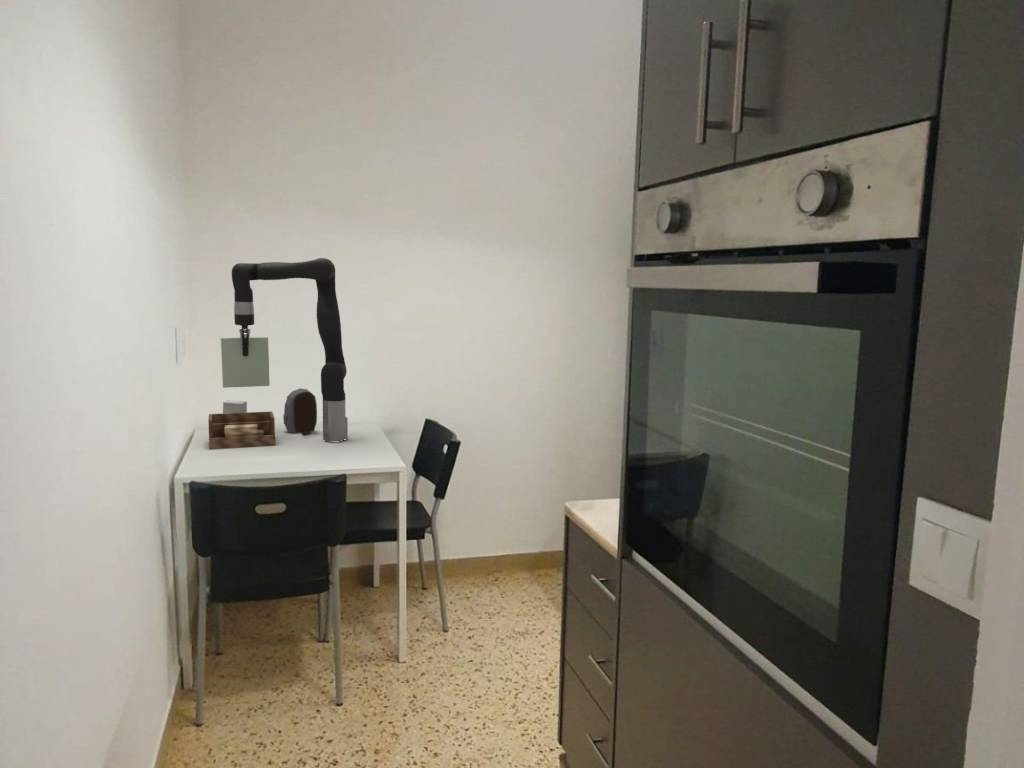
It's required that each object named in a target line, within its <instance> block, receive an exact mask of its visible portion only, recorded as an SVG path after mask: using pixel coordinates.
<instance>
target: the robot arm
mask: <svg viewBox="0 0 1024 768" xmlns="http://www.w3.org/2000/svg"><path fill="white" fill-rule="evenodd" d="M289 279H307V280H308V279H310V280H315V285H316V289H317V290H316V291H317V300H316V301H317V302H316V321H317V322H316V323H317V331H318V334H319V337H320V340H321V344H322V345H323V350H324V357H325V359H324V360H325V361H324V363H325V364H324V365H323V366H322V367H321V370H320V390H321V391H320V392H321V395H322V441H323V440H325V441H324V442H326V441H341V440H344V439H348V432H349V431H348V429H349V428H348V421H349V419H348V417H347V416H346V413H347V412H346V392H345V387H344V385H345V384H344V381H345V380H344V379H345V377H346V376H347V365H346V361H345V356H344V352H343V338H342V324H341V323H342V322H341V315H340V309H339V303H338V298H337V292H336V267H335V264H334V263H333V262H332V260H330V259H328V258H324V257H320V258H319V257H318V258H316V259H312V260H307V261H300V262H298V261H297V262H280V261H278V262H277V261H276V262H275V261H273V262H272V261H271V262H260V263H258V262H257V263H251V262H250V263H248V262H247V263H245V262H244V263H243V262H242V263H241V262H239V263H236V264H234V265H233V267H232V268H231V281H232V286H233V290H234V304H233V306H234V308H233V313H234V317H233V318H234V325H236V326H241V329H239V338H241V341H242V349H243V356H248V347H249V340H250V338H251V337H250V334H251V329H250V328H249V326H253V325H255V306H254V295H253V294H254V292H253V289H252V288H251V281H258V280H259V281H260V280H262V281H277V280H278V281H279V280H280V281H281V280H289ZM244 341H247V343H243V342H244ZM341 442H342V441H341Z"/></svg>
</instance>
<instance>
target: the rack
mask: <svg viewBox="0 0 1024 768" xmlns="http://www.w3.org/2000/svg"><path fill="white" fill-rule="evenodd" d="M207 420H208V421H207V422H208V445H209V447H208V448H209V450H221V449H222V450H223V449H225V450H226V449H239V448H242V449H243V448H256V447H257V448H258V447H273V446H275V447H276V428H275V427H276V426H275V425H276V424H275V416H274V412H273V411H270V410H269V411H252V412H251V411H250V412H248V411H247V412H246V413H223V412H221V413H208V419H207ZM248 424H257V429H258V430H263V432H264V435H263V436H245V437H226V438H225V430H224V428H225V425H248Z"/></svg>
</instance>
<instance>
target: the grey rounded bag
mask: <svg viewBox="0 0 1024 768" xmlns="http://www.w3.org/2000/svg"><path fill="white" fill-rule="evenodd" d="M317 407H318V405H317V399H316V395H314V394H313V393H312V392H311V391H310V390H309V389H308V388H302V387H301V388H298V389H295V390H293V391H291V392H290V393H289V394H288V395H287V396H286V400H285V403H284V411H283V415H282V417H283V418H282V419H283V425H284V427H285V429H286V431H287V432H288V433H290V434H301V435H306V434H310V433H314V432H315V430H316V425H317V422H318V408H317Z"/></svg>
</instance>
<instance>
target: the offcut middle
mask: <svg viewBox="0 0 1024 768" xmlns="http://www.w3.org/2000/svg"><path fill="white" fill-rule="evenodd" d="M263 435H264V432H263V430H258V432H257V433H246V434H225V438H226V437H245V436H263Z"/></svg>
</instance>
